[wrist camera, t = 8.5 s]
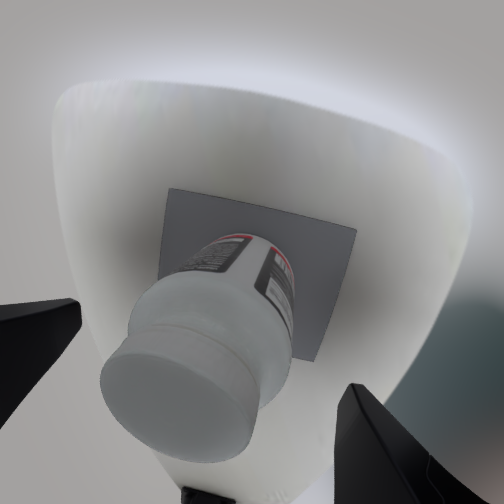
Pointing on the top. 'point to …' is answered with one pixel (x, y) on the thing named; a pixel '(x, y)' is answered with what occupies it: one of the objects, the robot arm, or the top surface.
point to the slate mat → (279, 234)
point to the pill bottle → (205, 351)
